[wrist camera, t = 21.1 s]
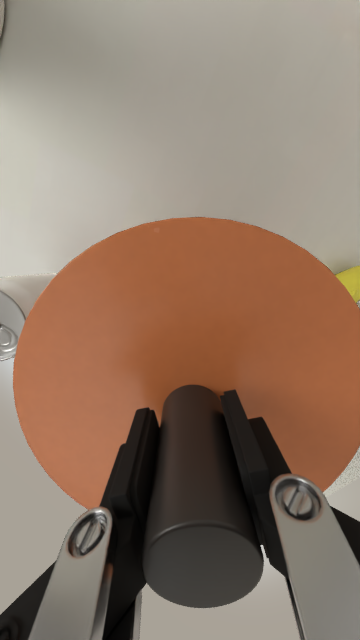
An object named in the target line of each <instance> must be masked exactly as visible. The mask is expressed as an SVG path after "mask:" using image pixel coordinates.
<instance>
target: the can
mask: <svg viewBox="0 0 360 640" xmlns="http://www.w3.org/2000/svg"><path fill="white" fill-rule="evenodd" d="M57 274H58V273H47V274H34V275H22V276H10V277H0V361H4V360H8V359H10V358H15V354H16V349H17V344H18V340H19V337H20V334H21V332H22V329H23V326H24V323H25V321H26V318H27V317H28V315H29V313H30V311H31V309H32V307H33V306H34V304H35V302H36V300H37V298H38V297H39V296H40V294H41V293H42V292H43V291H44V289H45V288H46V287H47V285H48V284H49V283H50V281H51V280H52V279H53V278H54V277H55V276H56V275H57Z"/></svg>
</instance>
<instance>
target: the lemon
mask: <svg viewBox="0 0 360 640" xmlns="http://www.w3.org/2000/svg"><path fill="white" fill-rule="evenodd" d="M335 276H336V277H337V278H338V279H339V280H340V282H341V283H342V284H343V285H344V286H345V287H346V289H347V290H348V292H349V293H350V295H351V296H352V298H353V299H354V301H355V302H356V303H357V302H358V301H359V300H360V266H356V267H353V268H350V269H348V270H345V271H343V272H340V273H338V274H336V275H335Z"/></svg>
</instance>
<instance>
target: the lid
mask: <svg viewBox="0 0 360 640" xmlns="http://www.w3.org/2000/svg"><path fill="white" fill-rule="evenodd" d="M13 389H14V398H15V406H16V410H17V414H18V418H19V422H20V425H21V428H22V431H23V433H24V435H25V438H26V440H27V443H28V445H29V447H30V448H31V450H32V452H33V453H34V455H35V457H36V459H37V460H38V462H39V463H40V464H41V466H42V467H43V468H44V470H45V471H46V473H47V474H48V475H49V476H50V478H51V479H52V480H53V481H54V482H55V483H56V484H57V485H58V486H59V487H60V488H61V489H62V490H63V491H64V492H65V493H67V494H68V495H69V496H70V497H71V498H73V499H74V500H75V501H76V502H78V503H79V504H81V505H82V506H84V507H85V508H86V509H88V510H90V509H92V508H94V507H99V505H100V503H101V500H102V497H103V494H104V491H105V488H106V485H107V482H108V479H109V477H110V474H111V471H112V468H113V465H114V462H115V459H116V456H117V454H118V451H119V448H120V446H121V445H122V444H123V443H126V440H127V437H128V434H129V431H130V428H131V425H132V422H133V419H134V415H135V412H136V410H137V409H141V408H146V407H149V408H150V410H154V411H155V414H156V417H157V420H158V423H159V427H160V430H159V437H158V444H157V451H156V458H155V465H154V472H153V479H152V486H151V493H150V500H149V507H148V514H147V521H146V528H145V535H144V542H143V548H142V555H141V567H142V572H143V576H144V578H145V580H146V582H147V584H148V585H149V586H150V587H151V588H152V590H154V592H156V593H157V594H158V595H159V596H161V597H163V598H164V599H166V600H168V601H170V602H173V603H176V604H179V605H183V606H187V607H194V608H211V607H218V606H223V605H227V604H230V603H232V602H235V601H237V600H239V599H241V598H243V597H244V596H246V595H247V594H248V593H249V592H251V591H252V590H253V589H254V588H255V586H256V585H257V584H258V582H259V581H260V579H261V576H262V572H263V564H264V563H263V562H264V560H263V553H262V550H261V547H260V543H259V539H258V535H257V532H256V528H255V524H254V521H253V517H252V513H251V510H250V508H249V506H248V503H247V500H246V496H245V492H244V488H243V485H242V481H241V477H240V473H239V470H238V466H237V462H236V458H235V455H234V451H233V447H232V443H231V440H230V436H229V432H228V428H227V425H226V421H225V417H224V413H223V409H222V404H221V400H220V396H221V395H224V391H229V390H234V389H236V392H237V394H238V397H239V399H240V401H241V404H242V406H243V409H244V411H245V413H246V416H247V418H248V419H252V418H257V417H263V419H264V420H265V422H266V424H267V426H268V428H269V430H270V432H271V434H272V436H273V438H274V440H275V442H276V443H277V445H278V447H279V449H280V451H281V453H282V455H283V457H284V459H285V461H286V463H287V465H288V467H289V469H290V471H291V472H292V474H298V475H301V476H304V477H306V478H307V479H309V480H311V481H312V482H314V483H315V484H316V485H317V486H318V487H319V488H320V490H321V491H322V493H323V492H324V491H325V490H326V489H327V488H328V487H329V486H331V484H332V483H333V482H334V481H335V480H336V479H337V478H338V477H339V475H340V474H341V473H342V472H343V471H344V470H345V468H346V467H347V465H348V464H349V462H350V461H351V460H352V458H353V457H354V455H355V454H356V452H357V450H358V448H359V446H360V309H359V307H358V305H357V304H356V302H355V301H354V299H353V298H352V296H351V295H350V293H349V292H348V290H347V289H346V287H345V286H344V285H343V284H342V283H341V282H340V280H339V279H338V278H337V277H336V276H335V275H334V274H333V273H332V272H331V271H330V269H329V268H328V267H327V266H325V265H324V264H323V263H322V262H320V261H319V260H318V259H317V258H315V257H314V256H313V255H312V254H310V253H309V252H308V251H307V250H305V249H303V248H302V247H300V246H298V245H296V244H295V243H293V242H291V241H290V240H288V239H286V238H284V237H282V236H280V235H277V234H275V233H272V232H270V231H267V230H265V229H262V228H260V227H257V226H253V225H249V224H245V223H241V222H237V221H233V220H227V219H217V218H206V217H190V218H171V219H166V220H161V221H155V222H150V223H145V224H141V225H139V226H136V227H133V228H130V229H127V230H124V231H121V232H118V233H116V234H114V235H112V236H110V237H108V238H106V239H104V240H102V241H100V242H98V243H96V244H94V245H93V246H91V247H90V248H88V249H87V250H85V251H84V252H83V253H81V254H80V255H79V256H77V257H76V258H74V259H73V260H72V261H70V262H69V263H68V264H67V265H66V266H65V267H64V268H63V269H62V270H61V271H60V272H59V273H58V274H57V275H56V276H55V277H54V278H53V279H52V280H51V281H50V283H49V284H48V285H47V287H46V288H45V289H44V291H43V292H42V293H41V294H40V296H39V297H38V298H37V300H36V302H35V304H34V306H33V307H32V309H31V311H30V313H29V315H28V317H27V318H26V321H25V323H24V326H23V329H22V332H21V334H20V337H19V340H18V344H17V349H16V354H15V359H14V371H13Z"/></svg>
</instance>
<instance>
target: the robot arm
mask: <svg viewBox="0 0 360 640" xmlns="http://www.w3.org/2000/svg"><path fill="white" fill-rule="evenodd" d="M3 22H4V0H0V37H1V32H2V27H3ZM220 400H221V404H222V409H223V413H224V417H225V421H226V425H227V428H228V432H229V436H230V440H231V443H232V447H233V451H234V455H235V458H236V462H237V466H238V470H239V473H240V477H241V481H242V485H243V488H244V492H245V496H246V500H247V503H248V506H249V508H250V510H251V513H252V517H253V521H254V524H255V528H256V532H257V535H258V539H259V543H260V545H263V546H264V549H265V553H266V557H267V558H269V562H270V564H271V565H272V566H273V567H274V568H275V569H277V570H278V571H279V572H280V573H281V574H283V575H284V577H285V581H286V585H287V589H288V593H289V597H290V601H291V605H292V609H293V613H294V617H295V621H296V626H297V630H298V634H299V638H300V640H360V522H359V521H357V520H355V519H354V518H352V517H350V516H348V515H346V514H344V513H342V512H341V511H339V510H337V509H335V508H333V507H331V506H330V505H329V503H328V501H327V499H326V497H325V495H324V494H323V493H322V491H321V490H320V488H319V487H318V486H317V485H316V484H315V483H314V482H312V481H311V480H309V479H307V478H306V477H304V476H301V475H298V474H292V472H291V471H290V469H289V467H288V465H287V463H286V461H285V459H284V457H283V455H282V453H281V451H280V449H279V447H278V445H277V443H276V442H275V440H274V438H273V436H272V434H271V432H270V430H269V428H268V426H267V424H266V422H265V420H264V419H263V417H257V418H252V419H248V418H247V416H246V413H245V411H244V409H243V406H242V404H241V401H240V399H239V397H238V394H237V392H236V389H234V390H229V391H224V395H221V396H220ZM159 430H160V427H159V423H158V420H157V417H156V414H155V411H154V410H150V408H149V407H146V408H141V409H137V410H136V412H135V415H134V419H133V422H132V425H131V428H130V431H129V434H128V437H127V440H126V443H123V444H122V445H121V446H120V448H119V451H118V454H117V456H116V459H115V462H114V465H113V468H112V471H111V474H110V477H109V479H108V482H107V485H106V488H105V491H104V494H103V497H102V500H101V503H100V505H99V507H94V508H92V509H90V510H88V511H86V512H85V513H83V514H82V515H81V516H80V517H79V518H78V519H77V520H76V521H75V522H74V523H73V525H72V526H71V527H70V529H69V530H68V532H67V534H66V536H65V538H64V541H63V544H62V547H61V549H60V552H59V555H58V558H57V560H56V561H55V562H54V563H53V564H52V565H51V566H50V567H49V568H48V569H47V570H46V571H45V572H44V573H43V574H42V575H41V576H40V577H39V578H38V579H37V580H36V581H35V582H34V583H33V584H32V585H31V586H30V587H29V588H27V589H26V590H25V591H24V592H23V593H22V594H21V595H20V596H19V597H18V598H17V599H16V600H15V601H14V602H13V603H12V604H11V605H10V606H9V607H8V608H7V609H6V610H5V611H4V612H3V613H2V614H1V615H0V640H139V636H140V620H141V603H142V588H143V587H144V586H145V584H146V583H147V582H146V580H145V578H144V576H143V572H142V567H141V555H142V548H143V542H144V535H145V528H146V521H147V514H148V507H149V500H150V493H151V486H152V479H153V472H154V465H155V458H156V451H157V444H158V437H159Z"/></svg>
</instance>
